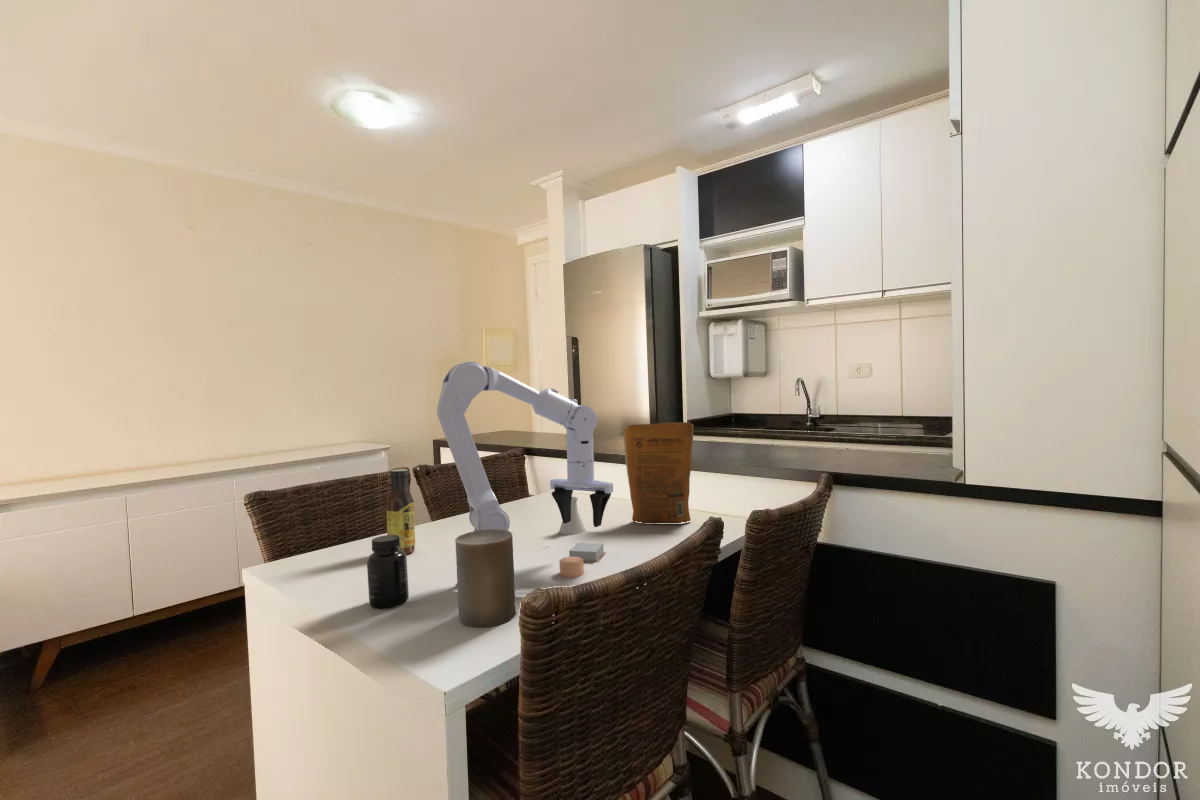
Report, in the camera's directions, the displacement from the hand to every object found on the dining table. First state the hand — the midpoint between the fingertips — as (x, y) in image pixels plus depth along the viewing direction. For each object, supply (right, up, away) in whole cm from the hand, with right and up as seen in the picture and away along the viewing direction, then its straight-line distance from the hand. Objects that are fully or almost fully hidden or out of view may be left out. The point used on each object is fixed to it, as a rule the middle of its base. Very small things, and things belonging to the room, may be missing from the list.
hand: (581, 524), depth 119 cm
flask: (-3, -9, +24) cm, 26 cm away
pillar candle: (-15, -10, -24) cm, 31 cm away
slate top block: (+1, -8, +2) cm, 8 cm away
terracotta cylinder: (-2, -9, -8) cm, 13 cm away
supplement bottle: (-35, -11, -17) cm, 40 cm away
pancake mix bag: (+21, -8, +34) cm, 41 cm away
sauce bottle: (-44, -10, +14) cm, 47 cm away
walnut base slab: (+1, -10, +2) cm, 10 cm away
